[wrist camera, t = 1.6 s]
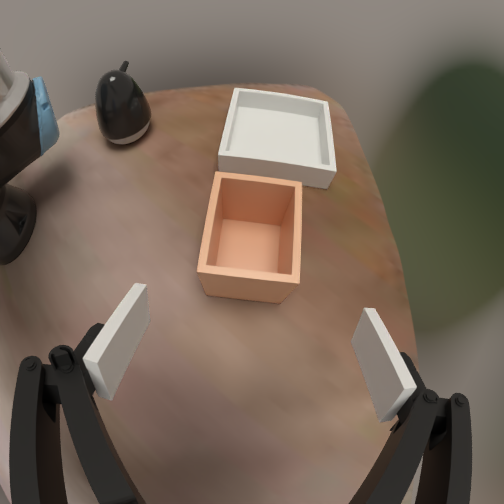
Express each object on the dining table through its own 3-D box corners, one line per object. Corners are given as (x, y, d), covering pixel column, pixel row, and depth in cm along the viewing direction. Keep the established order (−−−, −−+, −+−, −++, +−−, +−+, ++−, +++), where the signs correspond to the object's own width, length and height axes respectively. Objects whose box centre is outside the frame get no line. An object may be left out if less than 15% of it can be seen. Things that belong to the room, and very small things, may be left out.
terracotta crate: (206, 295, 37) (196, 271, 26) (218, 216, 41) (215, 171, 31) (280, 303, 37) (299, 283, 27) (285, 224, 41) (301, 182, 31)
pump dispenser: (163, 117, 48) (151, 55, 34) (141, 154, 44) (119, 89, 30) (121, 115, 48) (103, 58, 34) (97, 150, 44) (69, 93, 30)
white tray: (218, 174, 44) (218, 154, 39) (233, 106, 50) (234, 87, 45) (326, 189, 44) (336, 171, 40) (321, 119, 51) (327, 101, 46)
